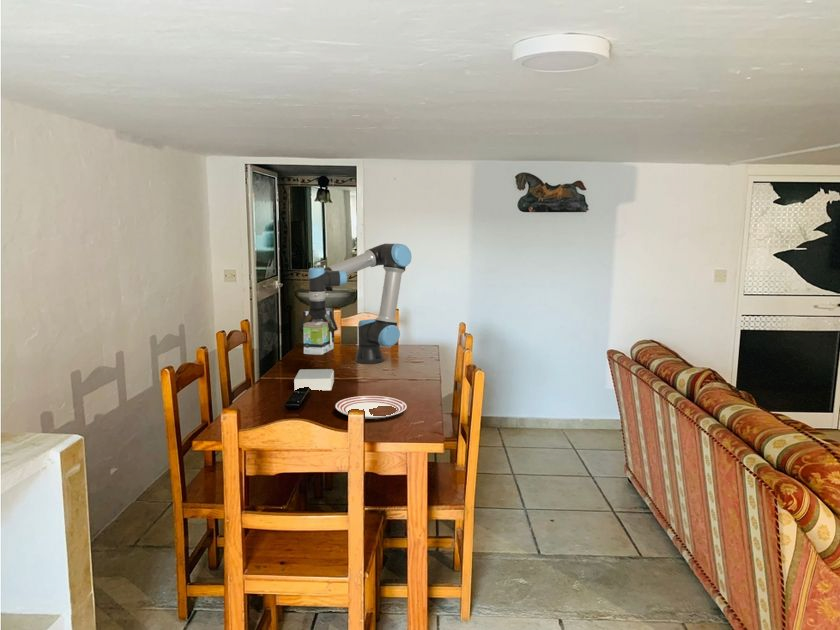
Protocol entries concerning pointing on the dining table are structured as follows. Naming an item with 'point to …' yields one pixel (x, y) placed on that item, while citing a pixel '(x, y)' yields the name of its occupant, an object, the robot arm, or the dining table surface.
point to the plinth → (314, 379)
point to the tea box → (317, 337)
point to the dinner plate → (370, 405)
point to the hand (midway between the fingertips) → (318, 345)
